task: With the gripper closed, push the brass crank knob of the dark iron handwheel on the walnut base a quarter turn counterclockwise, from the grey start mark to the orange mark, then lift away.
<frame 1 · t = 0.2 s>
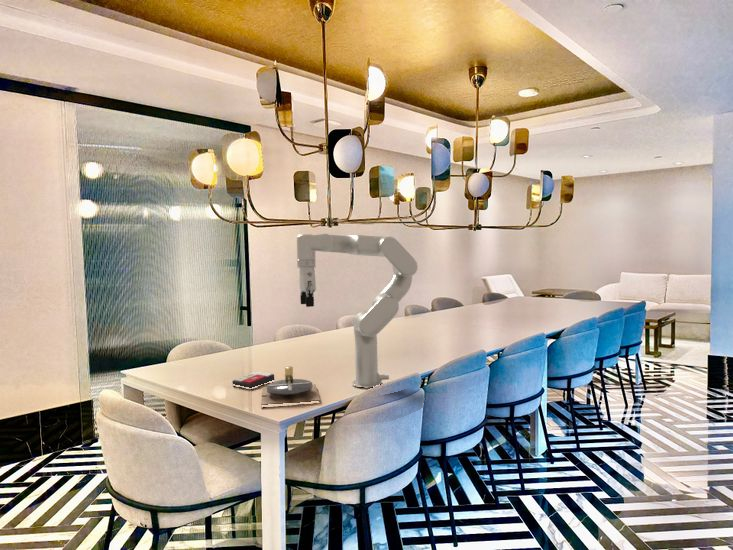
hand: (307, 305, 211), 35 cm above the table, tool pointing down, fingers open, 9 cm apart
handwheel: (289, 382, 202), point 6 cm above the table, hinge at 0.0°
valve base: (290, 397, 202), on the table
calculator: (254, 385, 224), on the table
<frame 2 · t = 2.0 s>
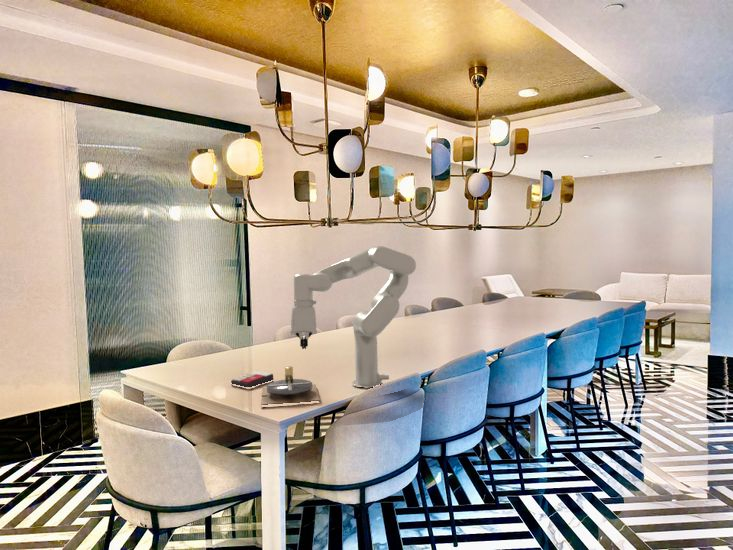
hand: (304, 348, 209), 18 cm above the table, tool pointing down, fingers closed
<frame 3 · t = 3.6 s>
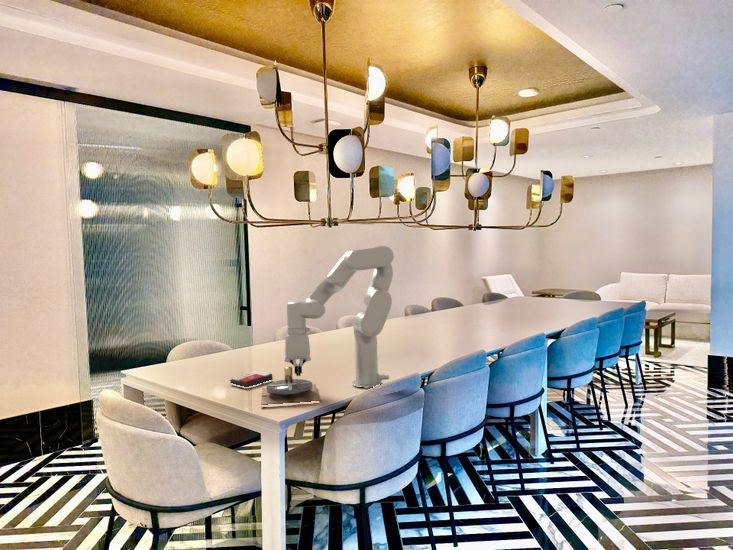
hand: (298, 375, 209), 7 cm above the table, tool pointing down, fingers closed
handwheel: (289, 382, 202), point 6 cm above the table, hinge at 1.7°, touching gripper
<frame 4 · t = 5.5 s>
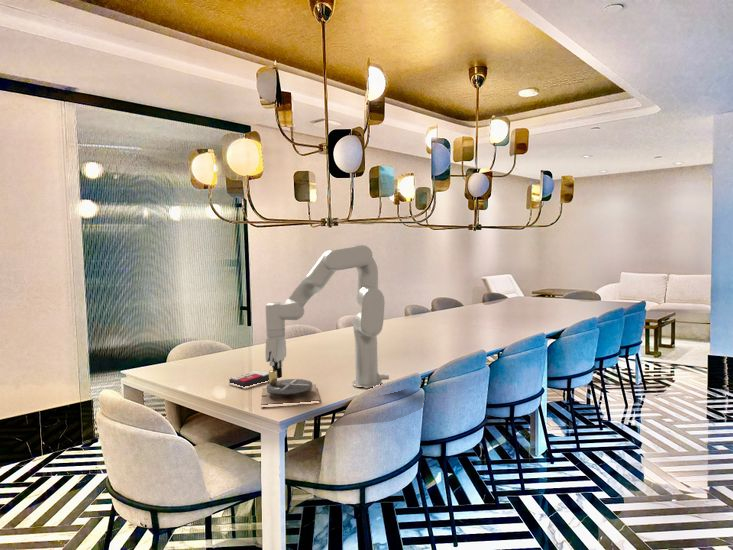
hand: (277, 377, 207), 7 cm above the table, tool pointing down, fingers closed
handwheel: (289, 382, 202), point 6 cm above the table, hinge at 66.7°, touching gripper
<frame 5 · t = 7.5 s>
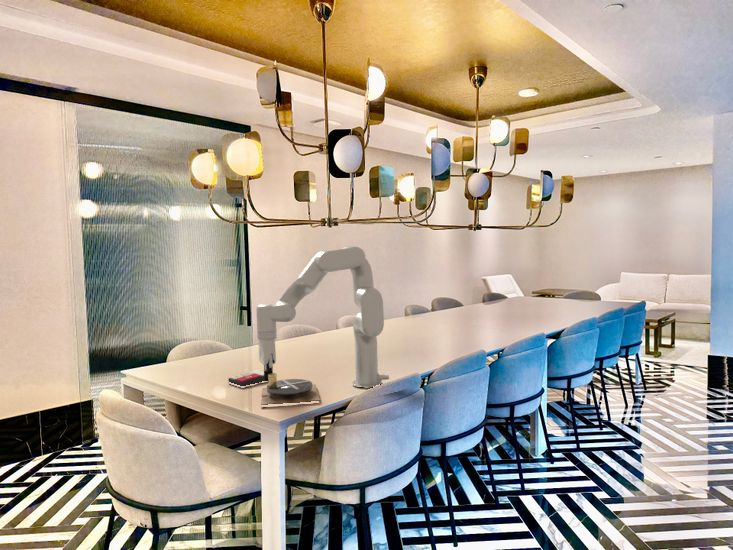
hand: (268, 380, 204), 7 cm above the table, tool pointing down, fingers closed
handwheel: (289, 382, 202), point 6 cm above the table, hinge at 110.3°
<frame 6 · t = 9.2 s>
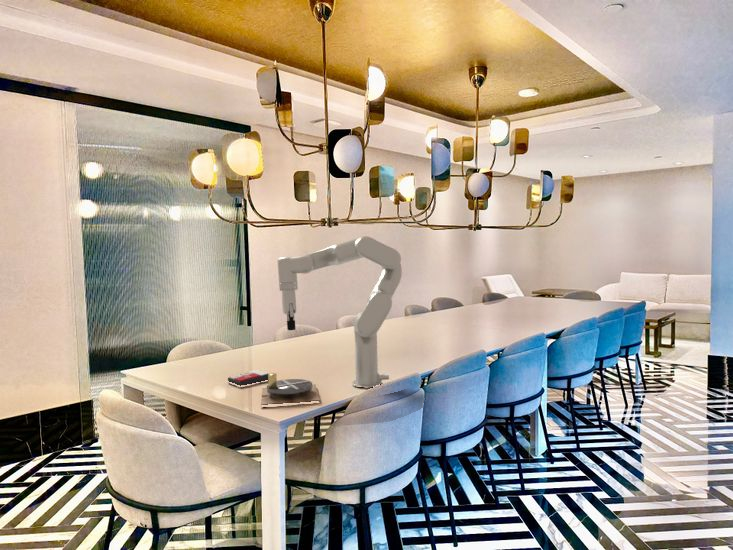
hand: (291, 329, 213), 25 cm above the table, tool pointing down, fingers closed
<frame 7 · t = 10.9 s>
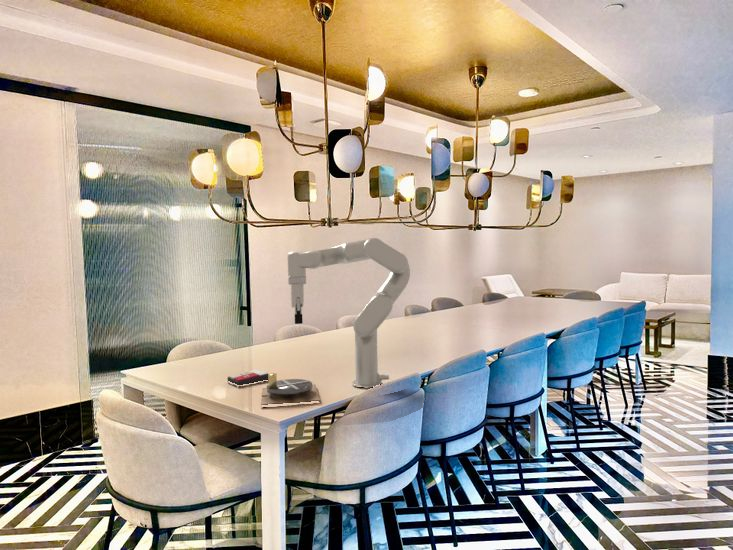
hand: (298, 323, 217), 27 cm above the table, tool pointing down, fingers closed
at the end: handwheel at +110° (first picture: +0°) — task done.
